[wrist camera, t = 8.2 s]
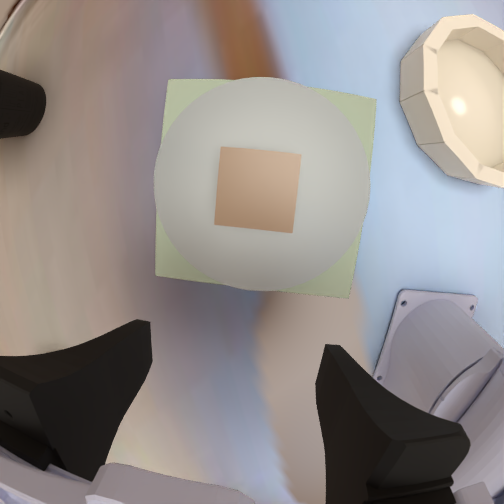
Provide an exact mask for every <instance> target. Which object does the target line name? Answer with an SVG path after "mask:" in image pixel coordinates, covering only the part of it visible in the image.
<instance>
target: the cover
mask: <svg viewBox="0 0 504 504" xmlns="http://www.w3.org/2000/svg"><path fill="white" fill-rule="evenodd" d="M154 196H155V203H156V207H157V211H158V215H159V218H160V221H161V223H162V225H163V228H164V230H165V232H166V234H167V236H168V237H169V239H170V241H171V242H172V244H173V245H174V246H175V248H176V249H177V250H178V252H179V253H180V254H181V255H182V256H183V257H184V258H185V259H186V260H187V261H188V262H189V263H190V264H191V265H192V266H194V267H195V268H196V269H197V270H199V271H200V272H202V273H203V274H205V275H206V276H208V277H210V278H211V279H214V280H216V281H218V282H220V283H222V284H225V285H228V286H232V287H235V288H239V289H245V290H251V291H273V290H281V289H286V288H291V287H294V286H297V285H300V284H303V283H305V282H307V281H309V280H311V279H313V278H315V277H317V276H319V275H320V274H322V273H323V272H325V271H326V270H328V269H329V268H330V267H331V266H333V265H334V264H335V263H336V262H337V261H338V260H339V259H340V258H341V257H342V256H343V255H344V254H345V253H346V251H347V250H348V249H349V247H350V246H351V245H352V243H353V242H354V240H355V239H356V237H357V235H358V233H359V231H360V229H361V227H362V224H363V222H364V219H365V216H366V213H367V208H368V203H369V197H370V171H369V166H368V161H367V156H366V154H365V151H364V148H363V145H362V142H361V140H360V138H359V136H358V134H357V132H356V131H355V129H354V128H353V126H352V125H351V123H350V122H349V120H348V119H347V118H346V116H345V115H344V114H343V113H342V112H341V111H340V110H339V109H338V108H337V107H336V106H335V105H334V104H333V103H331V102H330V101H329V100H328V99H327V98H325V97H324V96H322V95H320V94H319V93H317V92H316V91H314V90H312V89H310V88H308V87H306V86H303V85H301V84H298V83H295V82H292V81H288V80H284V79H278V78H272V77H253V78H244V79H239V80H235V81H231V82H227V83H225V84H222V85H220V86H217V87H215V88H213V89H211V90H209V91H208V92H206V93H204V94H202V95H201V96H199V97H198V98H197V99H195V100H194V101H193V102H192V103H190V104H189V105H188V106H187V107H186V108H185V109H184V110H183V111H182V112H181V113H180V114H179V116H178V117H177V118H176V119H175V121H174V122H173V123H172V125H171V126H170V128H169V130H168V132H167V133H166V135H165V137H164V139H163V142H162V144H161V146H160V149H159V152H158V156H157V160H156V164H155V172H154Z"/></svg>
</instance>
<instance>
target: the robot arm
mask: <svg viewBox="0 0 504 504" xmlns="http://www.w3.org/2000/svg"><path fill="white" fill-rule="evenodd" d="M404 300H405V303H404V304H402V305H401V302H402V301H404ZM477 302H478V298H477V297H476V296H474V295H465V294H452V293H440V292H428V291H417V290H402V291H401V292H400V293H399V295H398V298H397V302H396V306H395V309H394V313H393V317H392V320H391V323H390V327H389V330H388V333H387V337H386V340H385V343H384V346H383V349H382V352H381V355H380V358H379V361H378V364H377V367H376V369H375V372H374V375H373V378H372V377H371V376H370V375H369V374H368V373H367V372H366V371H365V370H364V369H363V368H362V367H361V366H360V365H359V364H358V363H357V362H356V361H355V360H354V359H353V358H352V357H351V356H350V355H349V354H348V353H347V352H346V351H345V350H344V349H343V348H342V347H341V346H340V345H329V344H325V348H324V353H323V356H322V360H321V364H320V368H319V372H318V376H317V379H316V383H315V385H316V404H317V410H318V415H319V421H320V426H321V431H322V437H323V442H324V449H325V464H326V504H504V349H503V348H502V347H501V346H500V345H499V344H498V343H497V342H496V341H495V340H494V339H493V338H492V337H491V336H490V335H489V334H488V333H487V332H486V331H485V330H484V329H483V328H482V327H480V326H479V325H478V324H477V323H476V322H475V321H474V320H473V319H472V317H473V314H474V311H475V308H476V305H477ZM471 305H472V307H471V308H470V306H471ZM152 362H153V361H152V347H151V330H150V322H148V321H143V320H138V319H136V320H134V321H131V322H129V323H127V324H125V325H123V326H121V327H119V328H116V329H114V330H112V331H110V332H108V333H106V334H104V335H102V336H99V337H97V338H95V339H92V340H90V341H87V342H85V343H82V344H80V345H77V346H74V347H70V348H67V349H64V350H59V351H55V352H50V353H45V354H38V355H29V356H0V504H255V501H254V500H253V499H252V498H250V497H249V496H247V495H245V494H243V493H242V492H240V491H238V490H235V489H231V488H227V487H223V486H219V485H213V484H207V483H201V482H195V481H190V480H185V479H181V478H176V477H171V476H167V475H163V474H159V473H155V472H151V471H147V470H144V469H140V468H137V467H133V466H130V465H124V464H118V463H109V464H106V465H105V462H106V459H107V456H108V453H109V450H110V448H111V445H112V442H113V439H114V437H115V435H116V432H117V430H118V427H119V425H120V423H121V421H122V419H123V417H124V415H125V413H126V412H127V410H128V408H129V407H130V405H131V403H132V401H133V400H134V398H135V396H136V395H137V393H138V391H139V390H140V388H141V386H142V385H143V383H144V381H145V379H146V377H147V374H148V372H149V369H150V367H151V364H152ZM378 376H381V377H379V378H377V377H378Z"/></svg>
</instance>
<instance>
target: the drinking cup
mask: <svg viewBox="0 0 504 504" xmlns="http://www.w3.org/2000/svg"><path fill="white" fill-rule="evenodd" d="M45 105H46V97H45V92H44V90H43V88H42V87H41V86H40V85H39V84H37V83H34V82H31V81H29V80H26V79H24V78H21V77H19V76H16V75H13V74H11V73H8V72H5V71H2V70H0V138H8V137H16V136H24V135H28V134H30V133H31V132H32V131H33V130H34V129H35V128H36V127H37V126H38V124H39V123H40V121H41V119H42V117H43V114H44V110H45Z"/></svg>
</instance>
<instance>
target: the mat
mask: <svg viewBox="0 0 504 504" xmlns="http://www.w3.org/2000/svg"><path fill="white" fill-rule="evenodd" d="M231 81H235V80H221V79H169V80H168V87H167V95H166V103H165V111H164V120H163V129H162V139H161V144H162V142H163V139H164V137H165V135H166V133H167V132H168V130H169V128H170V126H171V125H172V123H173V122H174V121H175V119H176V118H177V117H178V116H179V114H180V113H181V112H182V111H183V110H184V109H185V108H186V107H187V106H188V105H189V104H190V103H192V102H193V101H194V100H195V99H197V98H198V97H199V96H201V95H202V94H204V93H206V92H208V91H209V90H211V89H213V88H215V87H217V86H220V85H222V84H225V83H227V82H231ZM308 88H310V89H312V90H314V91H316V92H317V93H319V94H320V95H322V96H324V97H325V98H327V99H328V100H329V101H330V102H331V103H333V104H334V105H335V106H336V107H337V108H338V109H339V110H340V111H341V112H342V113H343V114H344V115H345V116H346V118H347V119H348V120H349V122H350V123H351V125H352V126H353V128H354V129H355V131H356V132H357V134H358V136H359V138H360V140H361V142H362V145H363V148H364V151H365V154H366V156H367V161H368V166H369V171H370V168H371V159H372V150H373V140H374V128H375V115H376V100H377V99H372V98H368V97H363V96H358V95H353V94H348V93H343V92H337V91H331V90H325V89H319V88H312V87H308ZM362 226H363V224H362ZM361 232H362V227H361V229H360V231H359V233H358V235H357V237H356V239H355V240H354V242H353V243H352V245H351V246H350V247H349V249H348V250H347V251H346V253H345V254H344V255H343V256H342V257H341V258H340V259H339V260H338V261H337V262H336V263H335V264H334V265H333V266H331V267H330V268H329V269H328V270H326V271H325V272H323V273H322V274H320V275H319V276H317V277H315V278H313V279H311V280H309V281H307V282H305V283H303V284H300V285H297V286H294V287H291V288H286V289H281V290H273V291H279V292H289V293H298V294H308V295H317V296H328V297H338V298H349V294H350V289H351V285H352V280H353V275H354V270H355V265H356V260H357V254H358V249H359V243H360V237H361ZM155 276H161V277H168V278H175V279H182V280H190V281H197V282H205V283H213V284H220V285H225V284H222V283H220V282H218V281H216V280H214V279H211V278H210V277H208V276H206V275H205V274H203V273H202V272H200V271H199V270H197V269H196V268H195V267H194V266H192V265H191V264H190V263H189V262H188V261H187V260H186V259H185V258H184V257H183V256H182V255H181V254H180V253H179V252H178V250H177V249H176V248H175V246H174V245H173V244H172V242H171V241H170V239H169V237H168V236H167V234H166V232H165V230H164V228H163V225H162V223H161V221H160V218H159V215H158V211H157V215H156V255H155Z"/></svg>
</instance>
